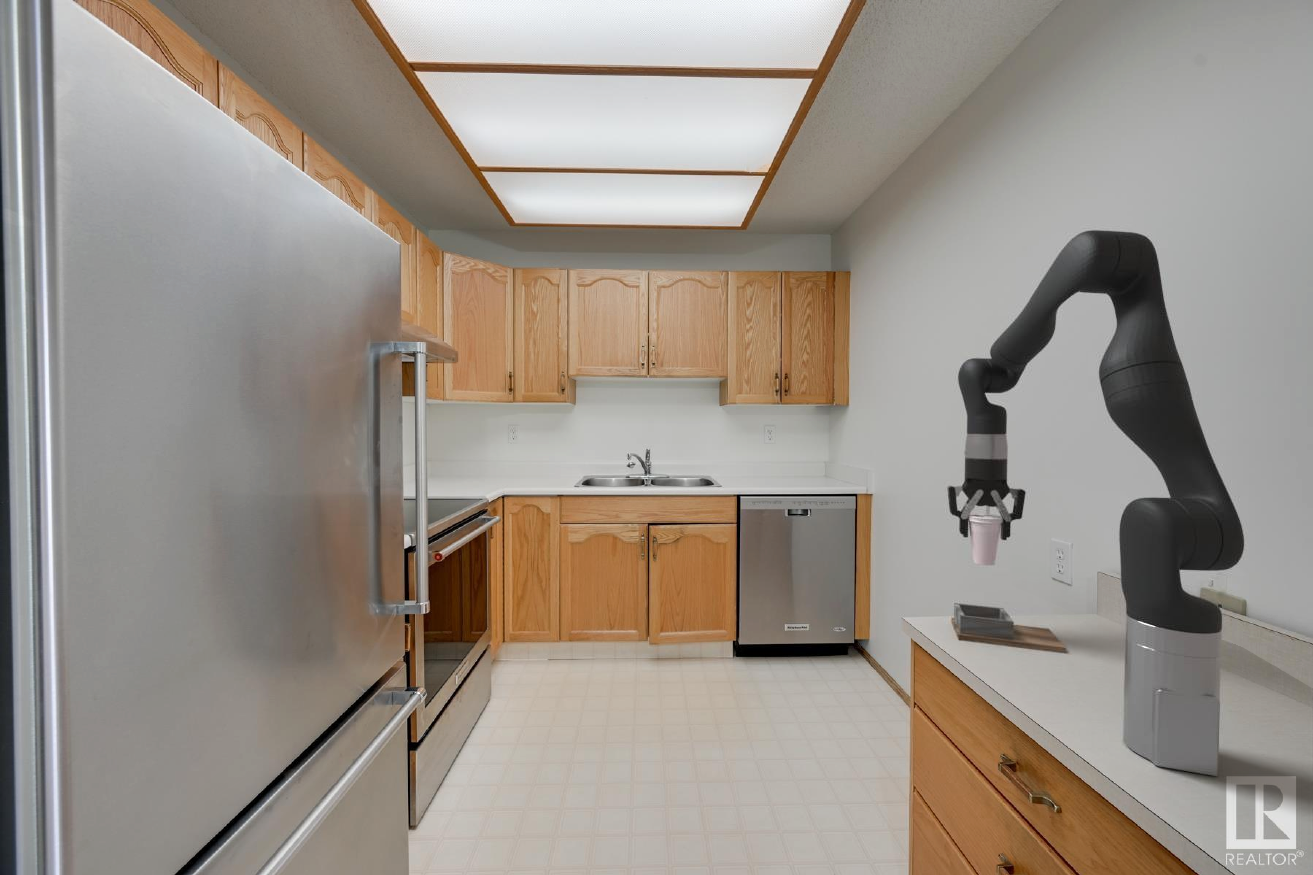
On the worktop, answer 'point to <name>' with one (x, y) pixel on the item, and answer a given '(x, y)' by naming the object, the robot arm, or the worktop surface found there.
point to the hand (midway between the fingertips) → (984, 537)
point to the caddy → (1000, 629)
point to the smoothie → (984, 536)
